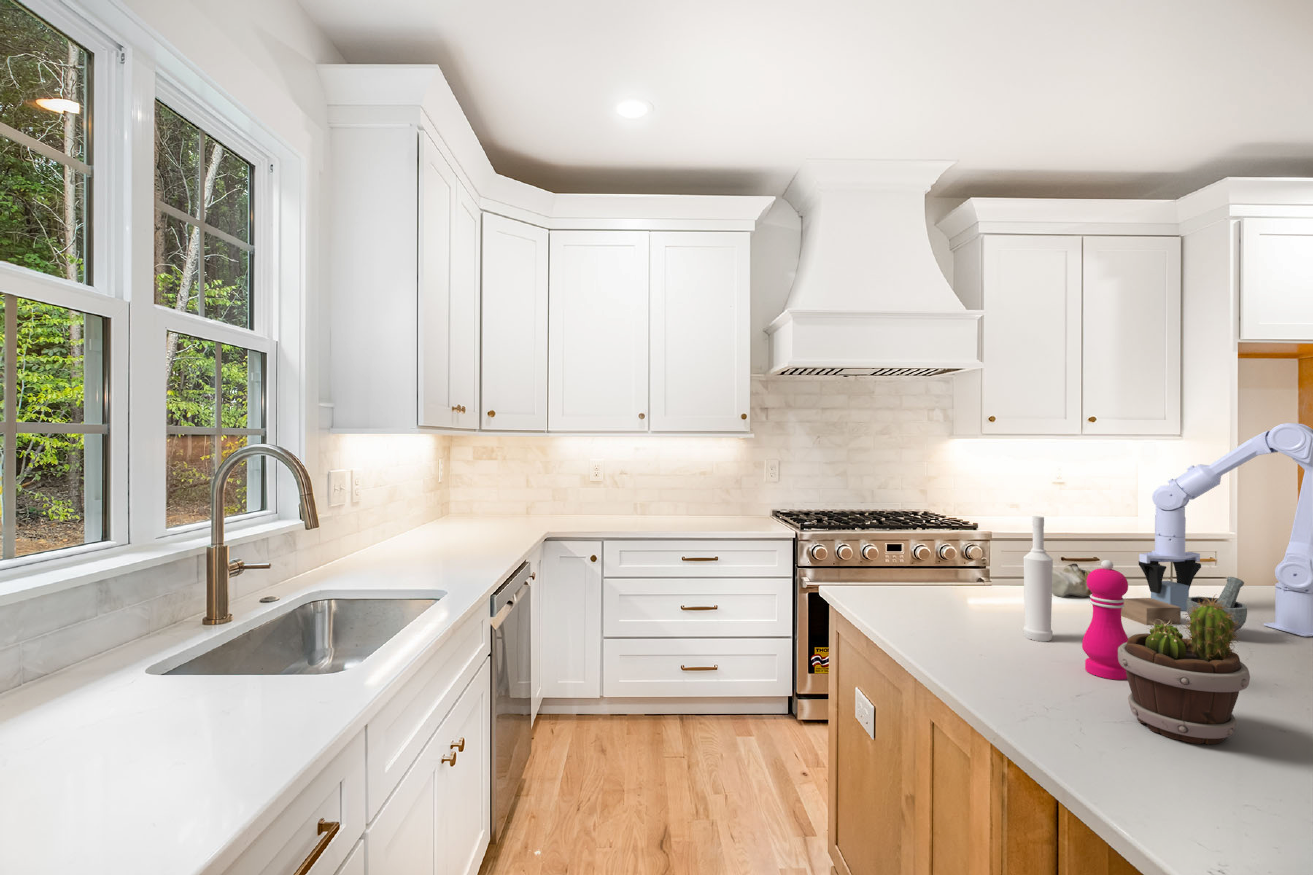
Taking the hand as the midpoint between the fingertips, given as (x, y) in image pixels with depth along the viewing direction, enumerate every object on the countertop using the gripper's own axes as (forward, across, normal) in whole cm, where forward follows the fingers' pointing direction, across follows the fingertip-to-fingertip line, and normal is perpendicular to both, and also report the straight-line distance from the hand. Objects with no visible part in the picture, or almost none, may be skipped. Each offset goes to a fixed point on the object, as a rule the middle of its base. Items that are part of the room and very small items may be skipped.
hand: (1169, 591), depth 153 cm
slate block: (+4, 0, 0) cm, 4 cm away
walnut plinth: (+4, +13, +7) cm, 15 cm away
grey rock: (+4, +13, -14) cm, 19 cm away
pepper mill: (+4, +49, +34) cm, 60 cm away
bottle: (+4, +47, +15) cm, 49 cm away
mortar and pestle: (+4, +9, +19) cm, 21 cm away
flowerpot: (+4, +56, +54) cm, 78 cm away
